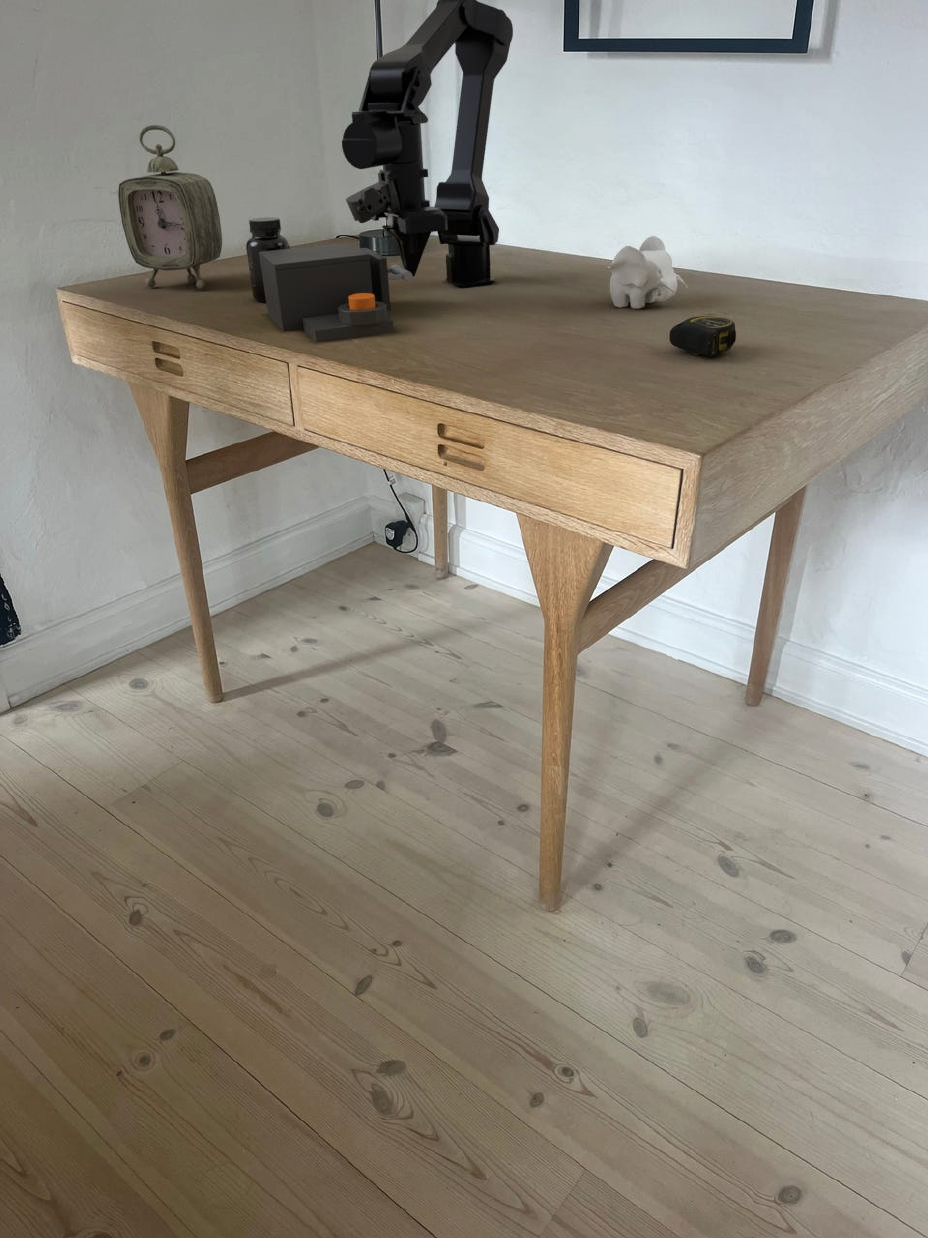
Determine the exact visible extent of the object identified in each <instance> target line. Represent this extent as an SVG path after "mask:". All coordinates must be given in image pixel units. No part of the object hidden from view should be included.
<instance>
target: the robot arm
mask: <svg viewBox="0 0 928 1238" xmlns="http://www.w3.org/2000/svg"><path fill="white" fill-rule="evenodd" d="M513 38H514V28H513V22H512V20H511V19H510V17H508V16H507V14H506V12H505V10H503V9H501V8H497V7H495V6H492V5H490V4H486V3H484V2H480V1H478V0H437V2H436V6H435V8H434V9H433V10H432V12H431V13H430V14H429V15H428V16H427V18H426V19H425V20H424V21H423V22H422V23H421V24H420V26H419V27H418V28H417V29H416V31H415V32H414V33H413V34H412V35H411V36H410V38H409V39H408V40H407V42H405V44H404V45H403V46H401V47H400V48H397V49H395V50H392V51H390V52H387V53H384V55H382V56H380V57H379V58H377V59H376V60H375V61H374V62H373V63H372V65H371V67H370V69H369V72H368V77H367V80H366V84H365V88H364V91H363V94H362V98H361V101H360V104H359V107H358V111H352V112H351V120H352V121H351V123H350V124H349V125H347V126H346V128H345V130H344V133H343V136H342V140H341V149H342V152H343V156H344V158H345V159H346V161H347V162H348V163H349V164H350V165H351V166H352V167H354V168H355V169H358V170H366V169H371V168H376V167H382V168H383V169H379V172H378V173H377V180H378V181H377V182H376V183H372V185H371V184H370V185H369V186H366V187H365V188H362V189H361V190H358V191H357V192H355V193H353V194H351V195H349V196H348V197H346V198H345V202H346V203H347V205H348V208H349V210H350V213H351V215H352V217H353V219H354V221H355V222H358V223H359V224H365V223H368V222H369V221H371V220H372V221H374V222H377V221H379V220H380V219H382V218H383V219H384V218H385V219H386V225H385V224H383V225H382V226H381V228H382V229H383V230H384V231H386V233H388V234H389V235H390V236H392V237H393V239H394V241H395V244H396V247H397V250H398V253H399V256H400V259H401V262H402V265H403V268H404V269H405V270H407V271H409V272H411V273H412V277H415V276H416V274H417V271H418V269H419V265H420V264H421V263H420V262H421V260H422V258H423V257H422V256H423V254H424V252H425V249H426V246H427V244H428V241H429V239H430V236H431V234H432V233H435V232H436V233H437V236H438V240H439V244H440V245H447V247H448V249H447V251H448V253H446V254H445V269H446V270H445V271H446V278H445V281H446V282H448V283H450V284H452V285H454V286H456V287H457V288H463V287H472V286H480V285H487V284H489V285H490V284H494V283H495V278H492V275H491V246H495V245H496V243H498V241H499V233H500V227H499V226H498V223H497V222H496V220H495V218H494V217H493V215H492V213H491V211H490V196H489V194H488V191H487V189H486V186H485V184H484V181H483V173H484V166H485V165H484V164H485V155H486V147H487V140H488V131H489V124H490V116H491V109H492V99H493V92H494V85H495V79H496V78H497V76H498V75H499V73H500V71H501V70H503V68H504V66H505V64H506V63H507V61H508V58H509V52H510V48H511V43H512V41H513ZM454 45H455V48H454V53H455V56H456V58H457V61H458V63H459V66H460V69H461V72H462V78H461V87H460V96H459V104H458V112H457V121H456V129H455V138H454V146H453V147H454V148H453V155H452V165H451V171H450V174H449V176H448V177H447V178H446V180H445V181H439V182H438V184H437V186H436V193H435V195H436V197H435V198H436V199H435V203H434V205H433V206H431V203H430V200H428V199H426V193H425V192H426V190H425V178H429V169H428V168H425V167H424V158H423V157H424V156H423V140H422V124H428V122H429V118H428V116H427V115H426V114H425V113H424V112H423V111H422V110H421V108H420V107H419V106H421V105H422V104H423V102H424V101H425V98H426V96H427V95H428V93H429V91H430V89H431V87H432V86H433V82H432V73H433V71H434V70H435V68H437V66H438V65H439V63H440V62H441V61H442V59H443V58H444V57H445V56H446V54H447V53H448V52H449V50H450V49H451V48H452V47H453V46H454Z"/></svg>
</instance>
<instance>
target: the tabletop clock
mask: <svg viewBox="0 0 928 1238" xmlns="http://www.w3.org/2000/svg"><path fill="white" fill-rule="evenodd" d="M157 130H158V131H162V132H165V133H167V134H168V135H169V136H170V138H171V141H172V144H171V145H170V147H168V148H165V149H163V146H162V144H160V143H158V144H156V145H155V146H154V147H155V149H153V148H151V147H148V146H147V145H145V143H144V141H143V140H144V139H143V138H144V136H145V134H147V132H149V131H157ZM139 143H140V145H141V147H142V149H144V150H145V151H146V152H148V153H149V154H152V155H156V156H155V157H153V158H151V159H150V160H149V162H148V165H147V168H146V169H147V170H146V172H147V173H153V174H149V175H142V176H138V177H133V178H127V179H125V180H123V181H121V182H120V183H119V184H118V192H117V193H118V194H117V197H118V207H119V212H120V219H121V224H122V229H123V232H124V237H125V239H126V243H127V246H128V248H129V252H130V255H131V256H132V258H133V260H134V262H135V263H136V264H138V265H139V266H141V267H144V268H146V269H151V270H152V273H151V276H150V277H147V278H146V280H145V284H146V286H147V287H148V288H154V287H155V286H156V279H155V278H156V276H157V274H158V272H159V270H160V271H181V270H186V272H187V276H186V277H187V278H186V279H187V282H188V283H189V284H195V283H196V284H195V286H196V288H197V290H200V291H203V290H205V289H206V287H207V285H206V282H205V281H204V280H203V279H202V277H201V271H200V266H201V265H204V264H206V263H210V262H213V261H215V260H217V259H219V258H220V257H221V254H222V249H223V232H222V225H221V217H220V212H219V206H218V202H217V198H216V197H217V196H216V193H215V190H214V188H213V186H212V183H211V182H210V181H209V180H208V179H207V178H205V177H204V176H202V175H200V174H196V173H190V172H181V171H179V170H180V169H179V167H178V165H177V163H176V162H175V160H173V158H171V157H169V156H166V155H167V154H169V153H171V152H173V151H174V149H175V147H176V138H175V136H174V134H173V132H172V131H171V130H170V129H169V128H167V127H166V126H163V125H159V124H151V125H147V126H145V127H144V128H143V129H141V131H140V133H139ZM164 155H165V156H164ZM191 268H192V269H193V271H194V273H195V274H193V273H192V269H191Z"/></svg>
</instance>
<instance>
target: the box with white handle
mask: <svg viewBox="0 0 928 1238" xmlns="http://www.w3.org/2000/svg"><path fill="white" fill-rule="evenodd" d="M359 249H360V250H362V251H364V252H366V253H367V254H369V258H370V270H371V281H372V292H373V294H374V296H375V301H377V302H383V303H385V304H386V305H387V312H389V311H391V310H392V309H391V297H390V284H389V281H396V280H404V281H405V282H410V281H411V280H412V279H413V276H412V273H411V272H409V271H407V270H405V269H404V267H402V266H400V265H398V264H397V263H395V264H392V265H391V266H390V267H388V259H387V258H386V257H385V256H383V255H381V254H379V253H378V252H375V251H374V250H371V249H370V248H368V247H361V248H359Z"/></svg>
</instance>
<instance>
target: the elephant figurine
mask: <svg viewBox="0 0 928 1238" xmlns="http://www.w3.org/2000/svg"><path fill="white" fill-rule="evenodd" d="M606 269H608V270H609V271H610V272H611V273H610V274H611V275H610V280H609V294H610V298H611V300H612V303H613V306H614V307H616V308H627V307H628V306H629V303H630V308H631V309H634V310H635V309H636V310H638V309H642V308H645V306H646V304H652V303H653V302H656V301H657V302H659V303H660V302H666V301H668V300H669V299H671V298H673V297H674V296H675V295H676V294H678V293H677V290H678V282H679V283H680V284H681V285H683V287H686V288H687V289H688V285H687V284H686V282H685V281H684V279H682V277H681V276H680V275H679V274H677V273H675V271H674V268H673V259H672V256H671V255H670V253H669V252H667V250H666V245H665V243H664V241H663V240H662V239H661V238H659V236H655V235H651V236H648V237H646V239H645V240H644V241H642V243H641V244H640V246H639V249H638V248H635V247H634V246H631V245H626V246H624V247H622V248H621V249H620V250H619V251H618V252H616V255H615V256H614V258H613V260H612V262H611V263H610V265H609V266H607V267H606ZM659 291H660V293H659V294H658V292H659Z"/></svg>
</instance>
